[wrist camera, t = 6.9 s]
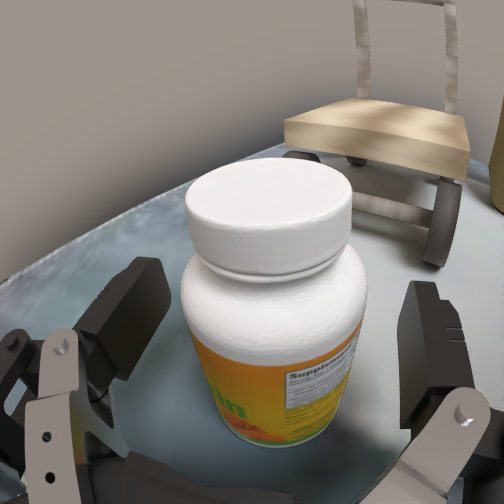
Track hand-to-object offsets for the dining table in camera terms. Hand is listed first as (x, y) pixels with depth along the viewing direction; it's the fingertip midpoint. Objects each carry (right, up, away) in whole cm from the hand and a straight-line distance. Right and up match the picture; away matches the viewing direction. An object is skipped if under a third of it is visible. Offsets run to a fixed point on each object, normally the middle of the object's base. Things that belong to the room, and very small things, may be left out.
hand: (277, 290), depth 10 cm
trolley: (+12, +6, +18) cm, 22 cm away
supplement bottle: (0, -5, +3) cm, 6 cm away
